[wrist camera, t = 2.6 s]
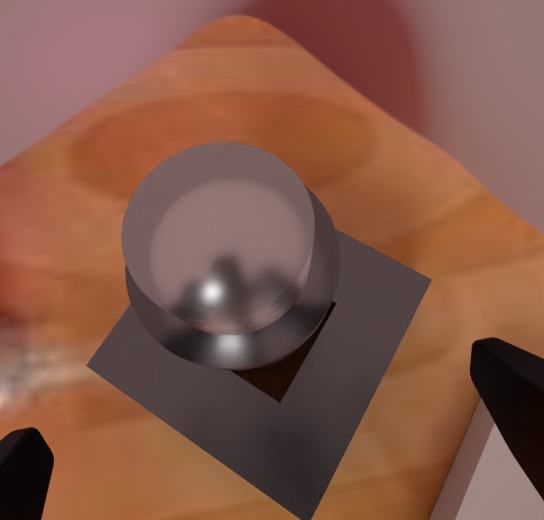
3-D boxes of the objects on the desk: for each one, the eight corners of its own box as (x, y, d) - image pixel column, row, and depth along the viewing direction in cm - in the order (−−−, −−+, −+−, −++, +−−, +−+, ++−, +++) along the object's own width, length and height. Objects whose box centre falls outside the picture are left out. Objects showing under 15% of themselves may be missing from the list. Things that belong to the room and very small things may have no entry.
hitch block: (305, 500, 16) (308, 524, 13) (118, 369, 18) (86, 365, 15) (410, 297, 18) (431, 279, 16) (235, 202, 20) (226, 172, 18)
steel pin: (282, 401, 17) (259, 422, 5) (201, 349, 18) (30, 269, 6) (329, 316, 18) (398, 180, 6) (251, 271, 19) (186, 80, 7)
